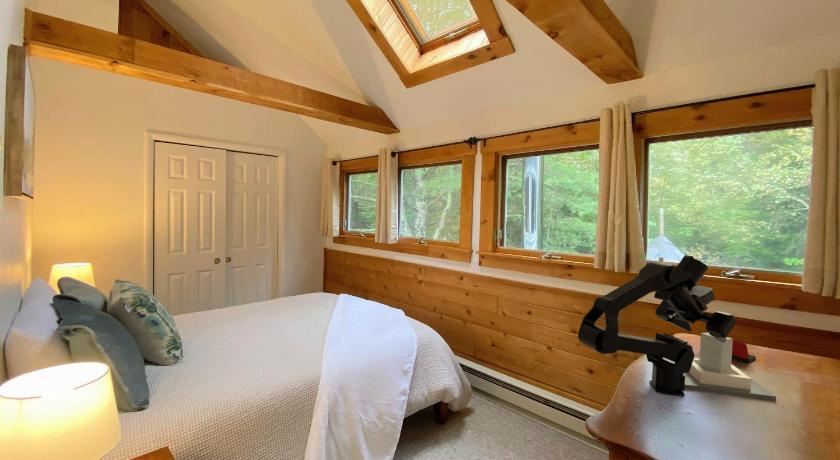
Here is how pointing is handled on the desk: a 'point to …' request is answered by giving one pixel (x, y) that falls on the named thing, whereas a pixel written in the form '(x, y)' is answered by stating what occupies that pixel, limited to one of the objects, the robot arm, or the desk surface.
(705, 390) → the socket board
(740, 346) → the handheld game console
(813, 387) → the desk surface
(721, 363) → the skincare box
